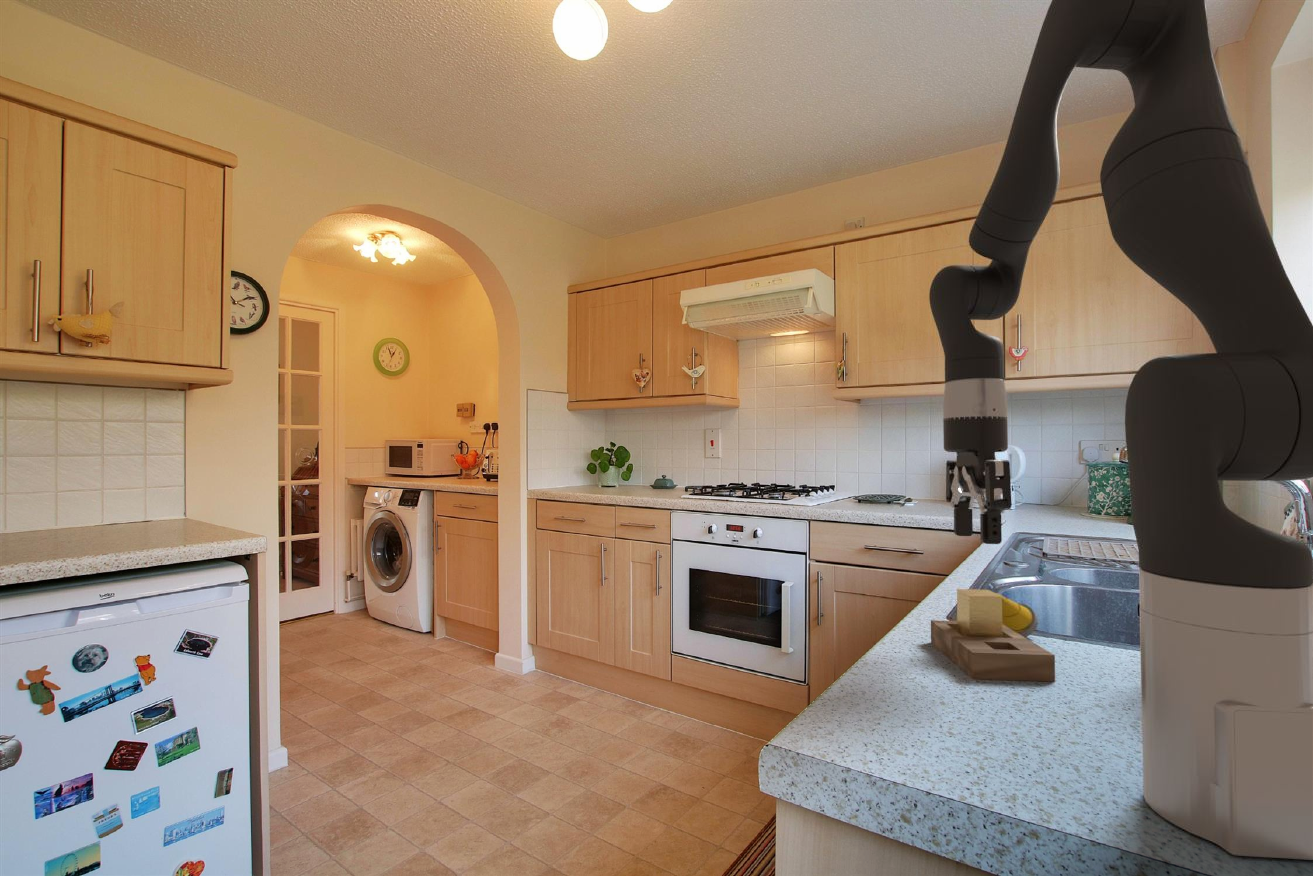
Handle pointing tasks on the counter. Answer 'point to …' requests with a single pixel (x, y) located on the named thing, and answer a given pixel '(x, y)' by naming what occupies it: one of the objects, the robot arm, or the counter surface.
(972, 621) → the tan square peg
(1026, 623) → the drill bit
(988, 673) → the bore block
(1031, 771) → the counter surface
